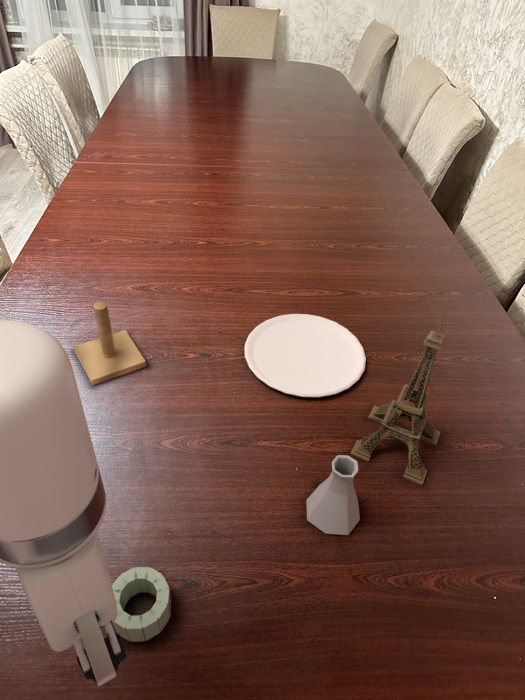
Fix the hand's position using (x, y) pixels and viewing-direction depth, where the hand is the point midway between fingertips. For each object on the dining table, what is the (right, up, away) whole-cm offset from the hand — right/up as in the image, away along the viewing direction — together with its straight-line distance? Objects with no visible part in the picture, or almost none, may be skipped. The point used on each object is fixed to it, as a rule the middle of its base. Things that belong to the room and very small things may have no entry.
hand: (87, 609), depth 44 cm
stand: (-11, +21, +42) cm, 48 cm away
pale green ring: (+1, -7, +13) cm, 15 cm away
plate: (+22, +21, +46) cm, 55 cm away
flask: (+24, +1, +24) cm, 34 cm away
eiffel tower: (+34, +8, +33) cm, 48 cm away
